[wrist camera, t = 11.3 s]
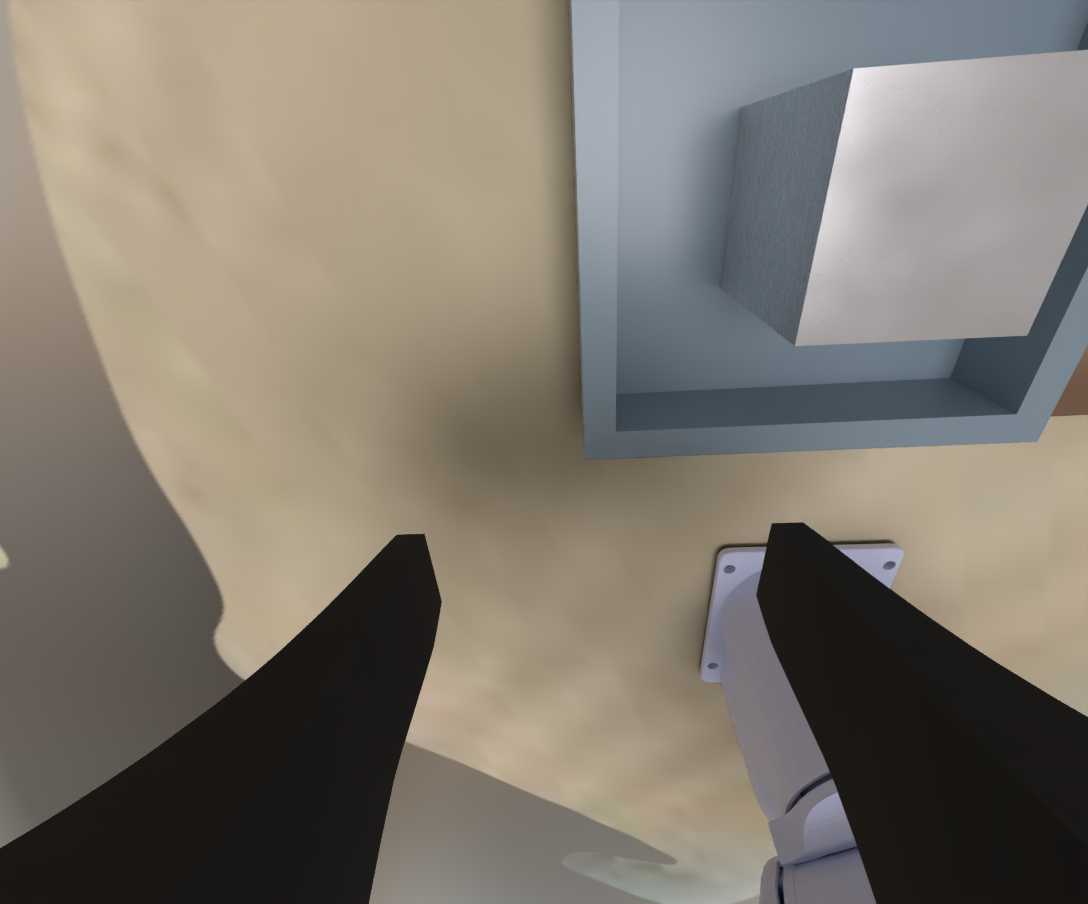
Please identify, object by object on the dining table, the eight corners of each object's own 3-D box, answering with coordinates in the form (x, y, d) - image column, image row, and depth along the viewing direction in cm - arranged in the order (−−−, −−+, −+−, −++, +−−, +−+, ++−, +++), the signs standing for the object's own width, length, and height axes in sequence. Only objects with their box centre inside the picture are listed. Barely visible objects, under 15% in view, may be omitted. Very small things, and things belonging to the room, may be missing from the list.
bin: (957, 395, 18) (1036, 441, 15) (581, 413, 19) (585, 459, 16) (1187, -177, 11) (1428, -310, 8) (564, -103, 12) (565, -197, 9)
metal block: (922, 93, 13) (1161, 44, 8) (871, 279, 15) (1027, 335, 10) (740, 107, 13) (853, 68, 8) (718, 287, 16) (795, 346, 10)
